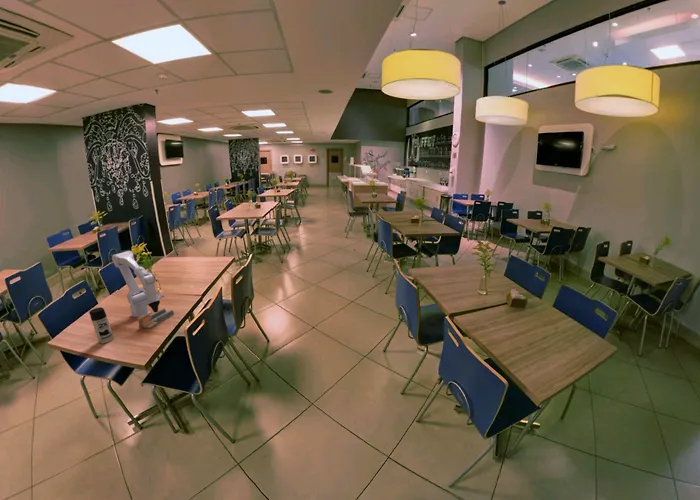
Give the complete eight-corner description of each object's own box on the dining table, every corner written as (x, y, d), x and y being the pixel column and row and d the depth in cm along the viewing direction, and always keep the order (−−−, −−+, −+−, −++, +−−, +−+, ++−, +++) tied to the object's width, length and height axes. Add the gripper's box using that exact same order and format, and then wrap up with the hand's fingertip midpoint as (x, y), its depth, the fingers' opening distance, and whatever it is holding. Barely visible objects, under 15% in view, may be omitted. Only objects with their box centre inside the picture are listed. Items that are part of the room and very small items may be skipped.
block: (139, 326, 179) (137, 318, 178) (147, 322, 184) (145, 314, 182) (145, 327, 178) (143, 319, 176) (152, 323, 182) (150, 315, 181)
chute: (138, 326, 181) (137, 322, 180) (164, 312, 197) (163, 308, 196) (149, 328, 178) (148, 324, 177) (174, 314, 195) (173, 310, 194)
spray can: (101, 345, 163) (91, 314, 157) (97, 341, 167) (86, 310, 161) (115, 339, 169) (106, 308, 163) (110, 335, 172) (101, 305, 166)
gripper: (145, 298, 175) (150, 318, 179) (166, 288, 188) (170, 307, 192) (136, 297, 177) (141, 316, 181) (157, 287, 190) (162, 305, 194)
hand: (155, 311), depth 186 cm, fingers closed
